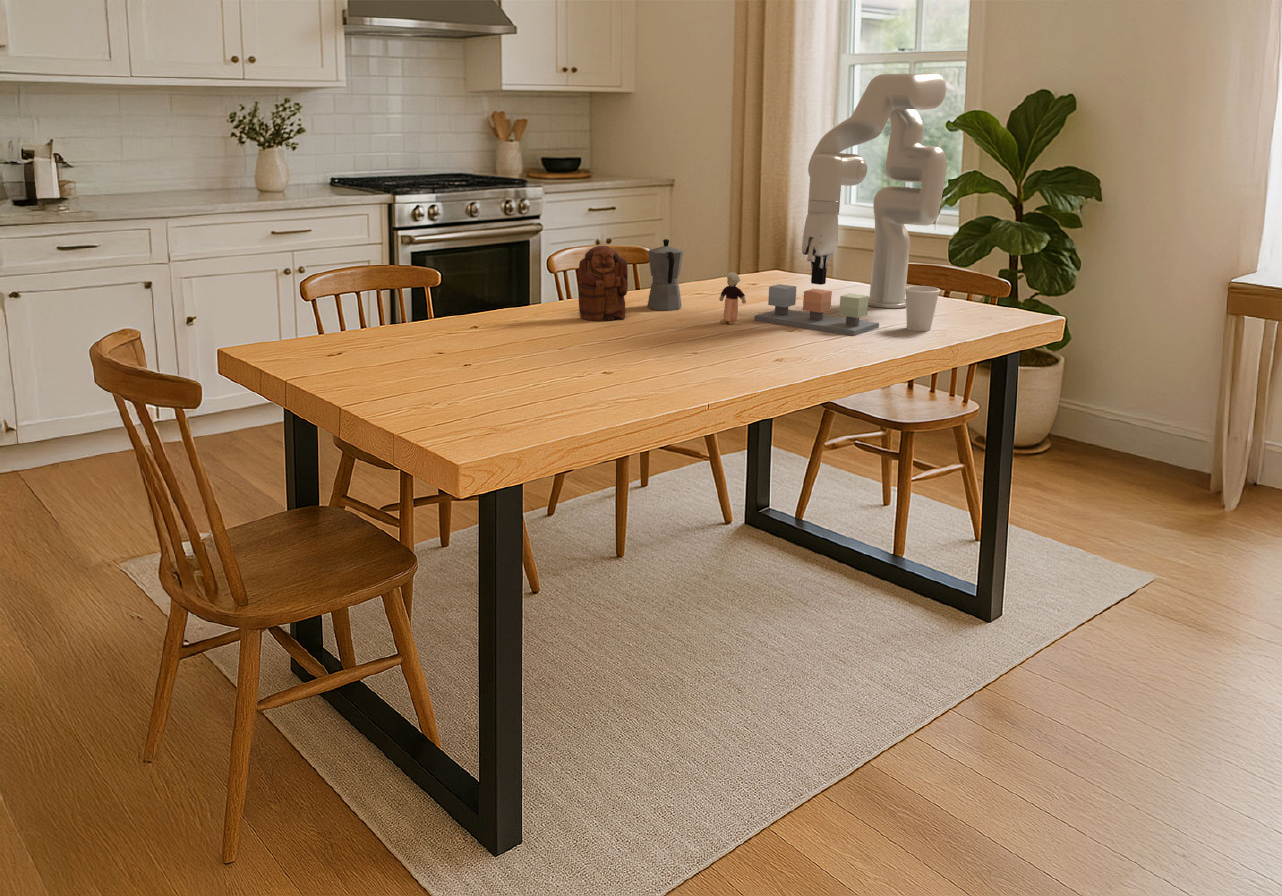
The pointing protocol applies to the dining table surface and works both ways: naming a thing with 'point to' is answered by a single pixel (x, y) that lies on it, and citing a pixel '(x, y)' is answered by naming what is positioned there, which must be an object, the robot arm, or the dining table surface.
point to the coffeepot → (665, 278)
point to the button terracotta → (817, 300)
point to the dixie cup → (920, 307)
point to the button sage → (853, 305)
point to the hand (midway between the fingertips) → (818, 283)
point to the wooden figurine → (602, 284)
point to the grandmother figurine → (731, 299)
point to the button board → (817, 321)
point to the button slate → (782, 295)
